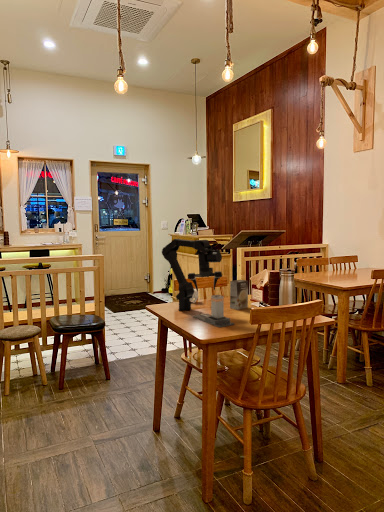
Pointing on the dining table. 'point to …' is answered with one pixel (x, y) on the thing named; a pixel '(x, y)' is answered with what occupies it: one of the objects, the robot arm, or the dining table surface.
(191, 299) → the penguin figurine
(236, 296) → the coffee box
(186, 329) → the dining table surface
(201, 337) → the dining table surface
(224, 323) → the dark flat piece
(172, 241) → the robot arm
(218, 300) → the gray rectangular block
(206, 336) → the dining table surface
